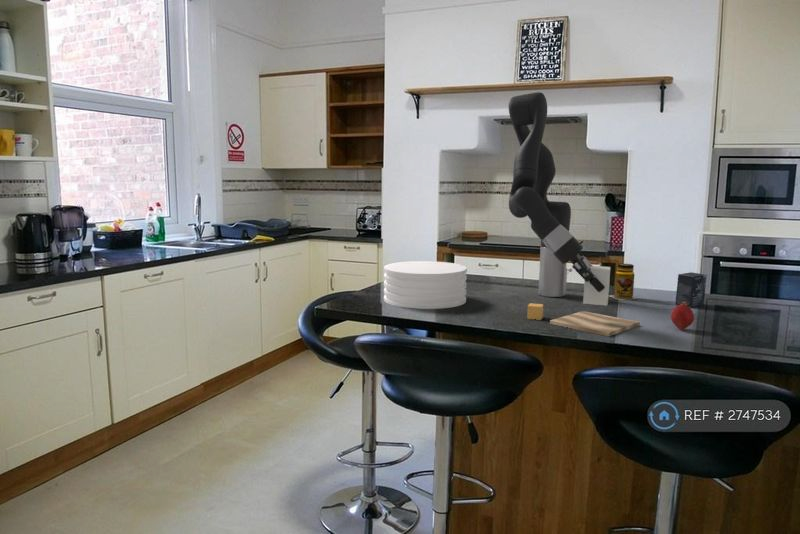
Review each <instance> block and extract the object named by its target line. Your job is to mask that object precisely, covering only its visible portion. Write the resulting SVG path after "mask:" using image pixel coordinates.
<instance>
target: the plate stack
mask: <svg viewBox="0 0 800 534" xmlns="http://www.w3.org/2000/svg"><path fill="white" fill-rule="evenodd" d="M383 272H384V274H383V278H384V281H383V286H384V288H383V294H384V295H383V302H385V303H387V304H388V305H392V306H395V307H400V308H407V309H419V310H435V309H436V310H437V309H448V308H455V307H459V306H462V305H464V304H466V302H467V297H466V296H467V289H466V288H467V277H468V275H467V272H468V268H467V266H465V265H462V264H459V263H454V262H446V261H433V260H431V261H429V260H413V261H411V260H410V261H399V262H392V263H388V264H385V265H384V266H383Z"/></svg>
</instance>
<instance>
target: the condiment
mask: <svg viewBox="0 0 800 534" xmlns="http://www.w3.org/2000/svg"><path fill="white" fill-rule="evenodd" d="M616 270H617V271H616V272H615V281H614V282H615V284H614V294H612V295H611V294H610V295H609V296H608V298H609V297H610V298H612V299H616V300H619V301H630V300H631V301H632V300H637V299H639V298H638V297H635V296H634V287H635V272H634V264H633V263H618V264H617V269H616Z"/></svg>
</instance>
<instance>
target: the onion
mask: <svg viewBox="0 0 800 534" xmlns="http://www.w3.org/2000/svg"><path fill="white" fill-rule="evenodd" d="M694 314H695V313H694V311H693V310H692V308H689V307H688V306H687V305H686V302H682V304H680V305H676V306H675V307H674V308H673V309H672V311H671V314H670V320H671V322H672V323H673V325H674V326H675V327H676V328H678V329H679V330H681V331H683V330H685V329H687V328H688V327H690V326H691V325H692V324H693V323H694V320H695V315H694Z"/></svg>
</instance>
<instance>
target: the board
mask: <svg viewBox="0 0 800 534" xmlns="http://www.w3.org/2000/svg"><path fill="white" fill-rule="evenodd" d="M640 323H641V322H640V321H637V320H633V319H632V320H631V319H626V318H621V317H616V316H610V315H605V314H601V313H600V314H599V313H594V312H590V311H584V310H581V311H578V312H574V313H572V314H567V315H564V316H560V317H557V318H553V319H550V320H549V325H553V326H559V327H562V326H563V328H567V327H568V329H571V328H572V330H577V331H581V332H582V331H583V332H585V333H590V334H594V335H595V334H596V335H600V336H604V337H612V336H614V335H617V334H620V333H622V332H625V331H628V330H630V329H633V328H636V327H638V326H640V325H641V324H640Z"/></svg>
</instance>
